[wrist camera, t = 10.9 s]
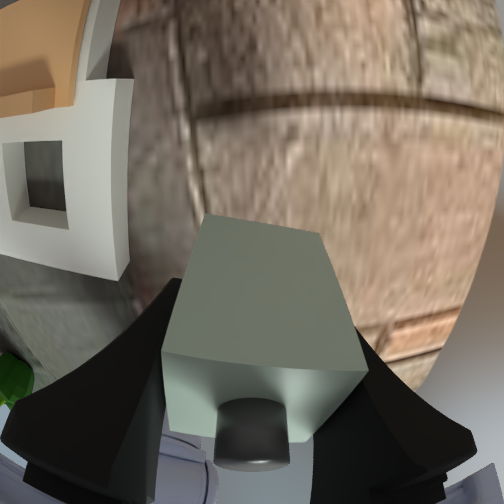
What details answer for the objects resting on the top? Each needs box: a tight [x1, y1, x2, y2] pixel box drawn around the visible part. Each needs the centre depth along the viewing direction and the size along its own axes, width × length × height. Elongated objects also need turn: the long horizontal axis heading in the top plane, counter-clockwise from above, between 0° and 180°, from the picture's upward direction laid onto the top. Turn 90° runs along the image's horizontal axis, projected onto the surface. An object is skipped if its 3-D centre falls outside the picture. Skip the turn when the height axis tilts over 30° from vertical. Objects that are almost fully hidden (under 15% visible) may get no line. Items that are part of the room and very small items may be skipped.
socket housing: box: [0, 0, 134, 281], centre depth 14 cm, size 19×13×2 cm
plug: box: [161, 214, 369, 472], centre depth 9 cm, size 4×4×8 cm
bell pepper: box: [0, 353, 34, 410], centre depth 27 cm, size 8×8×10 cm
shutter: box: [0, 0, 90, 118], centre depth 8 cm, size 8×8×3 cm
